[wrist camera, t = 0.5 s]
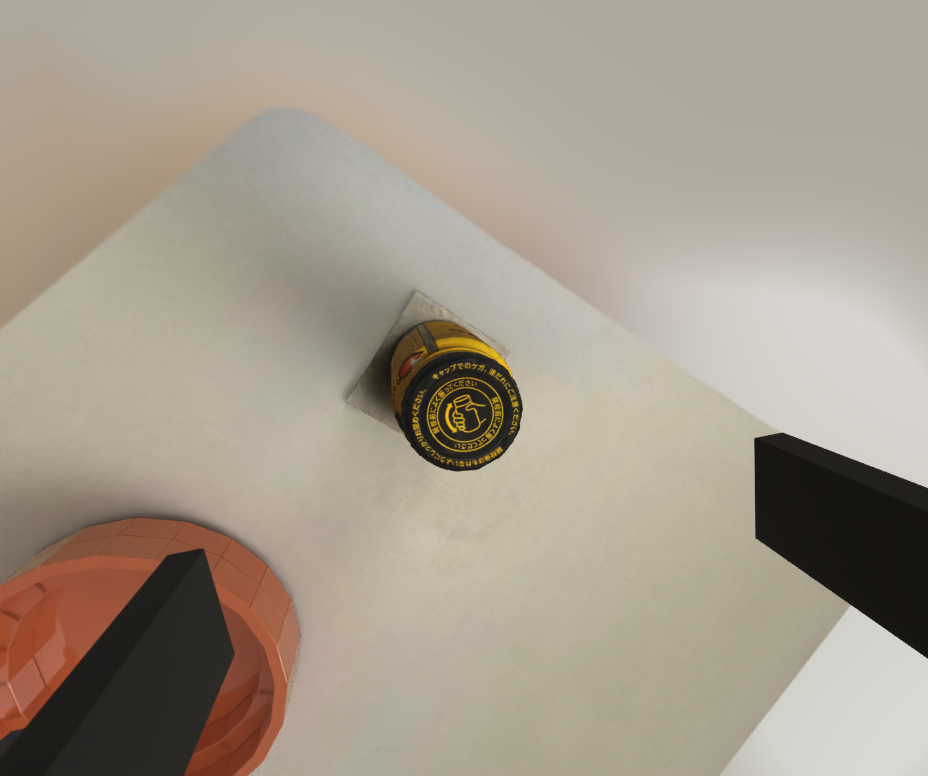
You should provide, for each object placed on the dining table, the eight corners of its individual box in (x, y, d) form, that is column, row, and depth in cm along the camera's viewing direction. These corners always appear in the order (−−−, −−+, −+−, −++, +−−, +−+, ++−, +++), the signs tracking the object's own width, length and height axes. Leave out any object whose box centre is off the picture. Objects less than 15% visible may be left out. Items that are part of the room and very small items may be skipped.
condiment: (509, 351, 33) (574, 392, 21) (440, 455, 34) (465, 549, 22) (416, 289, 31) (431, 297, 19) (346, 401, 32) (319, 471, 20)
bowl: (-42, 546, 31) (-123, 597, 26) (266, 489, 32) (244, 526, 28) (59, 779, 35) (5, 860, 30) (325, 717, 37) (314, 783, 32)
